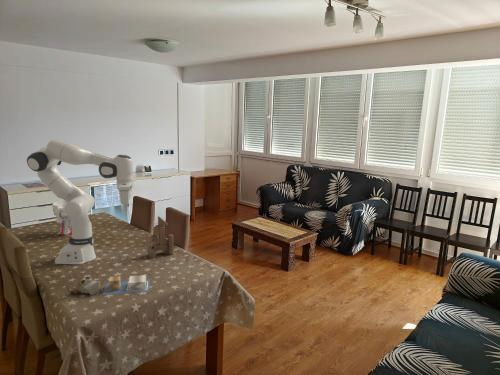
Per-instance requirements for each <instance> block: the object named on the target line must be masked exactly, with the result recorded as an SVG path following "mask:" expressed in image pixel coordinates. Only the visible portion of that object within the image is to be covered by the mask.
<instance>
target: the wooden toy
mask: <svg viewBox="0 0 500 375" xmlns="http://www.w3.org/2000/svg"><path fill="white" fill-rule="evenodd" d="M165 226H169V224H168V222H166V221H165V220H164V219H163V218H162V217H160V216H159V215H158V216H157V224H155V225H154V227H153V229H152V235H150V244H149V245H147V246H146V251H147V254H146V255H147V257H149V258H150V259H154V258H157V252H158V251H162V253H163V254H165V255H167V254H168V255H170V256H171V255H174V234H168V238H167V237H166V235H165Z"/></svg>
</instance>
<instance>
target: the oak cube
mask: <svg viewBox="0 0 500 375" xmlns="http://www.w3.org/2000/svg"><path fill="white" fill-rule="evenodd" d="M121 278H122V277H121V276H120V275H116V276H110V277H109V279H108V282H109V290H120V286H121Z"/></svg>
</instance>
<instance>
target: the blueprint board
mask: <svg viewBox="0 0 500 375" xmlns="http://www.w3.org/2000/svg"><path fill="white" fill-rule="evenodd" d="M150 285H151V279H146V288H145V289H142V290H129V280H122V281H121V286H120V290H109V281H107V282H106V283H105V285H104V289H103V292H102V294H101V295H102V296H109V295H110V296H111V295H123V294H137V293H139V294H140V293H150V288H151V286H150Z"/></svg>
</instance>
